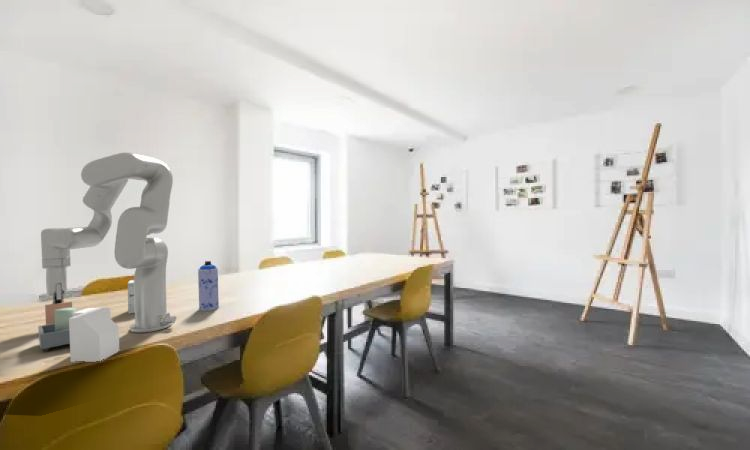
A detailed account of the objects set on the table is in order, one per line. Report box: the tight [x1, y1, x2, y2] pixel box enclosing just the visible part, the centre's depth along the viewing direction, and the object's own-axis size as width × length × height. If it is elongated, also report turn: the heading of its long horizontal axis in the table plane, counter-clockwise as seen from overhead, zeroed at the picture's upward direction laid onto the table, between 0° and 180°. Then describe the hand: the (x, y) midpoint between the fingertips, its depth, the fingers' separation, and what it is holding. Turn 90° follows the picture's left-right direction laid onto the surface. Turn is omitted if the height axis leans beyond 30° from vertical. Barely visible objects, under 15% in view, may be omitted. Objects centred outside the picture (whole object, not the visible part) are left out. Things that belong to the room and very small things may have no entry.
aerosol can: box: [197, 260, 220, 312], centre depth 149 cm, size 8×8×20 cm
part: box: [55, 307, 77, 332], centre depth 110 cm, size 5×5×8 cm
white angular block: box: [69, 307, 120, 363], centre depth 102 cm, size 11×11×12 cm
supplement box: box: [127, 279, 135, 315], centre depth 147 cm, size 7×7×13 cm
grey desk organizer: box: [37, 301, 73, 352], centre depth 115 cm, size 27×12×9 cm, turn 45°
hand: (58, 314), depth 127 cm, fingers closed
